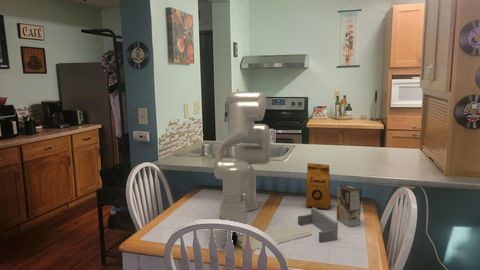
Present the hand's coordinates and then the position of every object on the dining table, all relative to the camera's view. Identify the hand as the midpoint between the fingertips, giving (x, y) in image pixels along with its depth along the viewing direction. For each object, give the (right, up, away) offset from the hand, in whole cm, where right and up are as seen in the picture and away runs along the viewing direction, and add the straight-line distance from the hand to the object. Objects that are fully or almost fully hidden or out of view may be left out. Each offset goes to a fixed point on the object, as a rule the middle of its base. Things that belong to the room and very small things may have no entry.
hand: (233, 243), depth 140 cm
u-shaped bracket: (+34, +1, +12) cm, 36 cm away
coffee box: (+51, +3, +22) cm, 55 cm away
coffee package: (+42, +6, +42) cm, 59 cm away
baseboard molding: (+16, -1, +6) cm, 17 cm away
